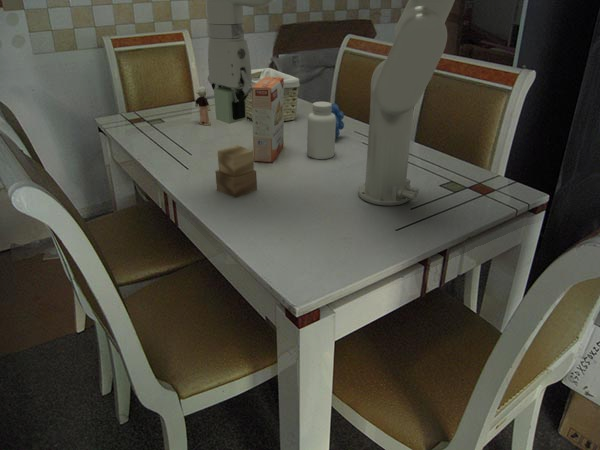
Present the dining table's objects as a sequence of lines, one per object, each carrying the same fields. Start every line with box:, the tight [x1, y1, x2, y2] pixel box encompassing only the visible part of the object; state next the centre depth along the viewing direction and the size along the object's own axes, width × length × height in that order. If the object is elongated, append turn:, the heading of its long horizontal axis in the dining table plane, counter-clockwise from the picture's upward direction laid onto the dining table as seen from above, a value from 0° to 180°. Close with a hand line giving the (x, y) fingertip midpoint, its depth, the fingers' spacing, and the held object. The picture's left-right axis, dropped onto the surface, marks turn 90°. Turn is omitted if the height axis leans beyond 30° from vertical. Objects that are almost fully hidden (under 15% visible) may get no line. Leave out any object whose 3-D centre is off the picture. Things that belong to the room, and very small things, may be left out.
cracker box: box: [252, 77, 285, 163], centre depth 143 cm, size 14×6×21 cm, turn 168°
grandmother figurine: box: [194, 86, 212, 126], centre depth 172 cm, size 8×4×13 cm, turn 58°
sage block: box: [213, 86, 248, 125], centre depth 115 cm, size 5×5×7 cm
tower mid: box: [217, 144, 255, 177], centre depth 122 cm, size 6×6×5 cm
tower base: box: [215, 169, 258, 199], centre depth 124 cm, size 7×7×5 cm
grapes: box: [331, 103, 345, 138], centre depth 156 cm, size 12×7×12 cm, turn 124°
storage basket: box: [238, 67, 300, 122], centre depth 181 cm, size 24×16×15 cm
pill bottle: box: [306, 101, 336, 160], centre depth 144 cm, size 8×8×15 cm
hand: (231, 115), depth 117 cm, fingers closed on sage block, 5 cm apart
